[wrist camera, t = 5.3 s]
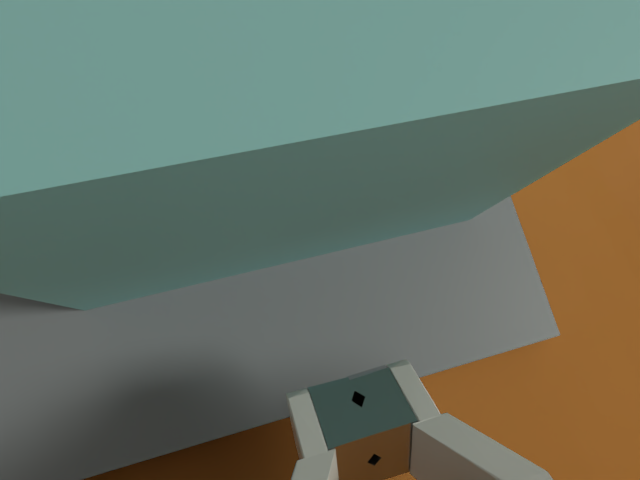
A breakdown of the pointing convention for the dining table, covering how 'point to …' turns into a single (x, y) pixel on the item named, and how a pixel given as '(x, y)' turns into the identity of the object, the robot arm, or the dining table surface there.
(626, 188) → the dining table surface
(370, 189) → the tee block
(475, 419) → the dining table surface
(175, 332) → the slate board
